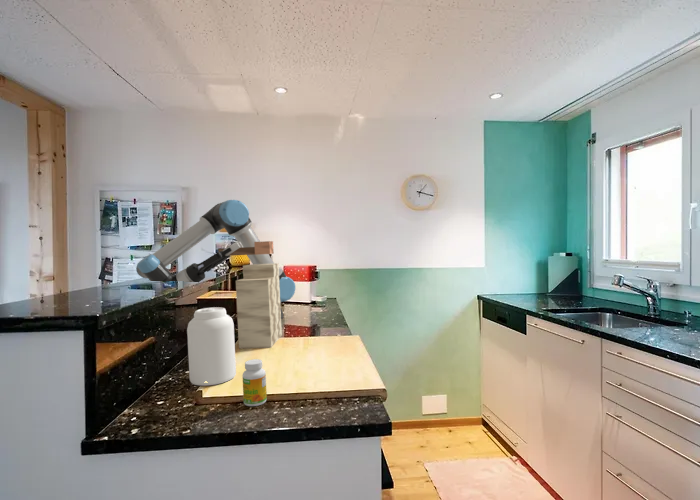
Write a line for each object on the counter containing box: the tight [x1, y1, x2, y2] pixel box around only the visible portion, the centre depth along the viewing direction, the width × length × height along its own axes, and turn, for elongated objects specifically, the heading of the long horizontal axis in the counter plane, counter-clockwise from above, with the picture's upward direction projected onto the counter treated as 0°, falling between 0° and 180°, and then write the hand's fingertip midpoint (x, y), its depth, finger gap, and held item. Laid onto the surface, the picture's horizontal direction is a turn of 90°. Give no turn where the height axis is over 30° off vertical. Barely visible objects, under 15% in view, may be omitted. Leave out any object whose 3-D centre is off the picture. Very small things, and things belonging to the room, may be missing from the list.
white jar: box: [186, 306, 237, 387], centre depth 108 cm, size 12×12×20 cm
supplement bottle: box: [242, 358, 268, 407], centre depth 90 cm, size 5×5×10 cm
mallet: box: [217, 240, 274, 256], centre depth 151 cm, size 6×21×5 cm, turn 88°
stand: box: [235, 262, 283, 349], centre depth 147 cm, size 18×12×30 cm, turn 178°
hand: (239, 244), depth 152 cm, fingers closed on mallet, 3 cm apart
